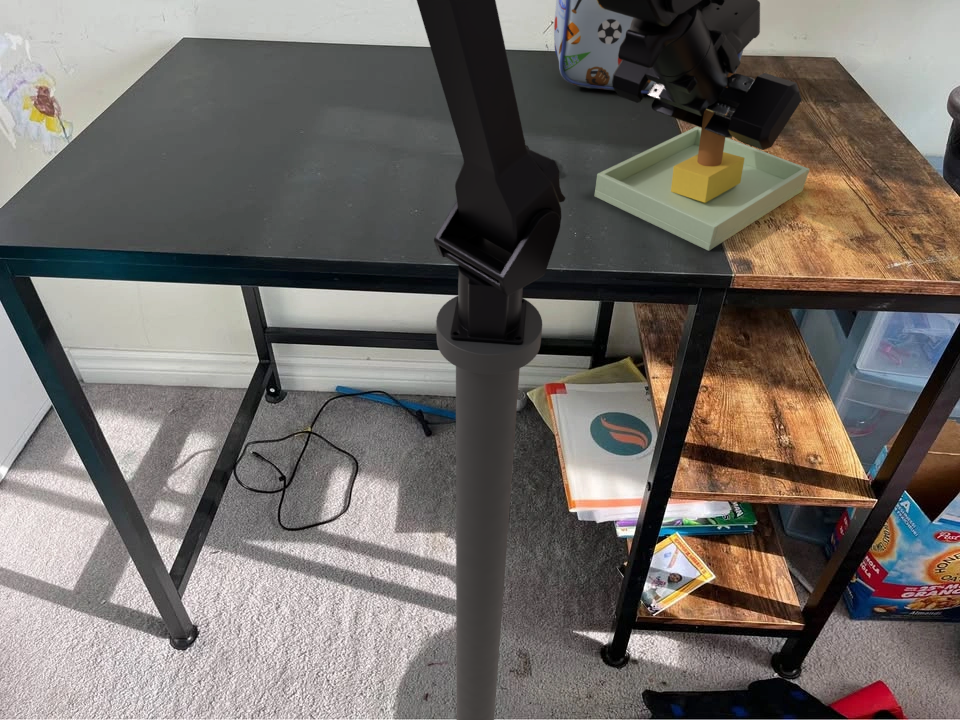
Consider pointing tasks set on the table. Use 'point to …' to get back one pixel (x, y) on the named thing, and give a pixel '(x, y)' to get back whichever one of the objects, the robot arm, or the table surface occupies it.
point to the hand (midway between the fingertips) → (720, 129)
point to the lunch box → (590, 43)
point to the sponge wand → (707, 168)
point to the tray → (708, 224)
